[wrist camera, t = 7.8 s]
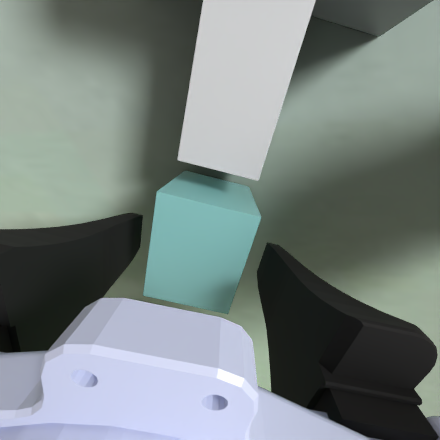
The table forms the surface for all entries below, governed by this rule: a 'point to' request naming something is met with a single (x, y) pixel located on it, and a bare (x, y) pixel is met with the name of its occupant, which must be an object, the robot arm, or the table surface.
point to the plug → (223, 149)
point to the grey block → (367, 13)
